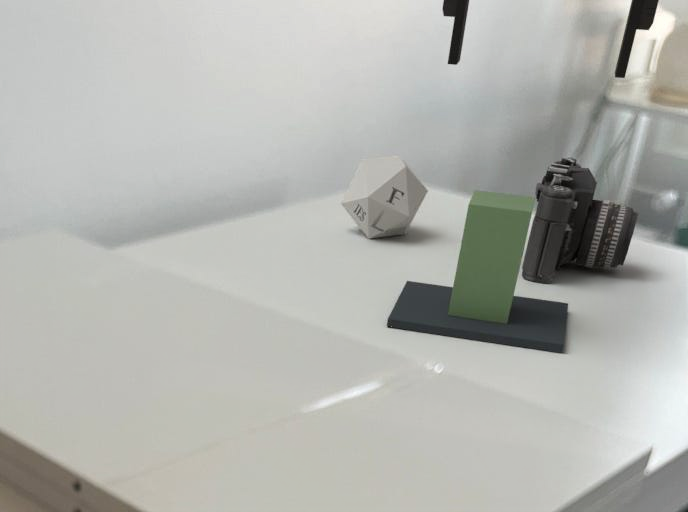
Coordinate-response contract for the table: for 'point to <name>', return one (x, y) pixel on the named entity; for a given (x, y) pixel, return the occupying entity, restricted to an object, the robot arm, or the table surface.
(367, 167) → the die
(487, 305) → the green block
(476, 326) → the mat
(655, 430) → the table surface
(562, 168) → the camera
